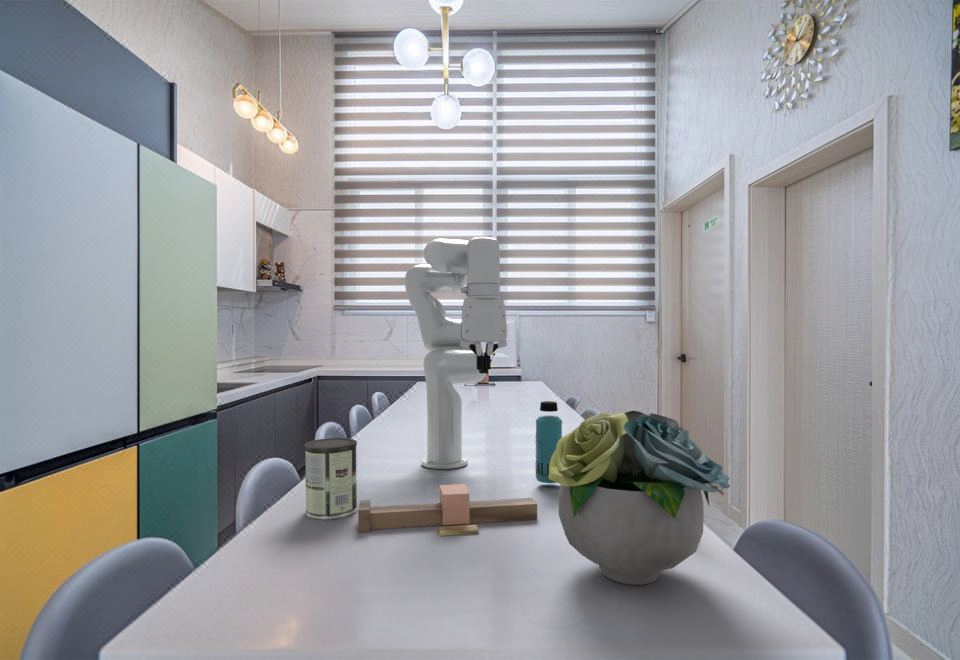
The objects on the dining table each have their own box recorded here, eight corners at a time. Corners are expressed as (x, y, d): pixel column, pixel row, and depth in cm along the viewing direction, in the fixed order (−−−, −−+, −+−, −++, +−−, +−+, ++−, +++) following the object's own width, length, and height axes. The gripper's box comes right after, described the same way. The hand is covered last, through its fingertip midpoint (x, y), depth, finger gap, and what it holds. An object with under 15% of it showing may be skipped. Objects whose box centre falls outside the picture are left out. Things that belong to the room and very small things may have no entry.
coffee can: (328, 501, 121) (327, 436, 121) (367, 507, 117) (367, 439, 117) (293, 515, 112) (293, 444, 112) (334, 523, 107) (334, 449, 107)
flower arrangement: (659, 537, 99) (659, 399, 99) (758, 604, 75) (757, 421, 75) (525, 549, 94) (524, 403, 94) (584, 625, 70) (583, 429, 70)
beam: (360, 513, 113) (360, 493, 113) (525, 504, 118) (525, 485, 118) (357, 541, 98) (357, 518, 98) (545, 529, 103) (545, 507, 103)
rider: (439, 513, 111) (439, 485, 111) (464, 512, 112) (464, 483, 112) (443, 525, 104) (443, 494, 105) (469, 523, 105) (469, 493, 105)
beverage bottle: (562, 482, 135) (562, 399, 135) (563, 490, 128) (563, 403, 128) (535, 482, 136) (535, 399, 136) (535, 489, 129) (534, 403, 129)
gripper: (452, 291, 123) (452, 375, 123) (519, 291, 125) (519, 373, 125) (448, 293, 130) (449, 372, 130) (511, 293, 132) (511, 371, 132)
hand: (483, 372), depth 127 cm, fingers closed
